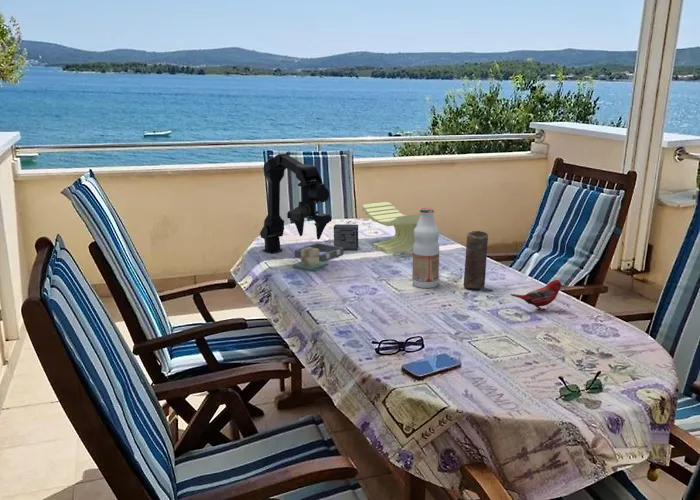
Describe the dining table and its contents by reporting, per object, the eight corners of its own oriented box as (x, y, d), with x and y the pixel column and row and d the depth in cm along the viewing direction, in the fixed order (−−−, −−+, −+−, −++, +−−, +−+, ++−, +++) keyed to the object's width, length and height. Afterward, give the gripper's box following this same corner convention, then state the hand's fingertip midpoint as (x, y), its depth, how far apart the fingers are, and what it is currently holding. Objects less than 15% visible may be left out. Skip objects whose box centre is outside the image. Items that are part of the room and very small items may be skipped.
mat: (292, 266, 243) (292, 264, 243) (309, 261, 250) (309, 258, 250) (311, 271, 237) (311, 268, 237) (327, 265, 245) (327, 262, 244)
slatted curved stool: (429, 253, 259) (430, 212, 255) (397, 258, 252) (398, 216, 248) (392, 238, 285) (392, 201, 280) (362, 242, 278) (362, 204, 273)
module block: (301, 264, 243) (301, 249, 242) (309, 261, 247) (309, 246, 245) (310, 266, 240) (310, 251, 239) (319, 263, 244) (318, 248, 242)
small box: (358, 246, 272) (358, 223, 269) (357, 250, 265) (357, 227, 263) (335, 246, 273) (335, 223, 270) (333, 250, 266) (333, 227, 264)
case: (294, 256, 257) (294, 250, 256) (317, 249, 268) (317, 242, 267) (322, 262, 248) (322, 255, 247) (344, 254, 259) (344, 248, 258)
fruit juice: (414, 288, 215) (415, 211, 208) (410, 280, 224) (411, 206, 217) (440, 288, 216) (442, 211, 208) (435, 280, 225) (438, 205, 217)
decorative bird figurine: (563, 310, 193) (566, 280, 191) (511, 314, 191) (512, 284, 188) (559, 307, 196) (561, 278, 194) (507, 311, 193) (509, 281, 191)
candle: (487, 286, 217) (490, 231, 212) (482, 292, 211) (485, 236, 206) (466, 283, 221) (468, 229, 215) (461, 289, 214) (463, 234, 209)
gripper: (276, 199, 236) (278, 238, 240) (312, 204, 225) (313, 245, 229) (296, 195, 244) (297, 232, 248) (331, 199, 233) (332, 239, 237)
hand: (309, 237), depth 241 cm, fingers open, 9 cm apart
